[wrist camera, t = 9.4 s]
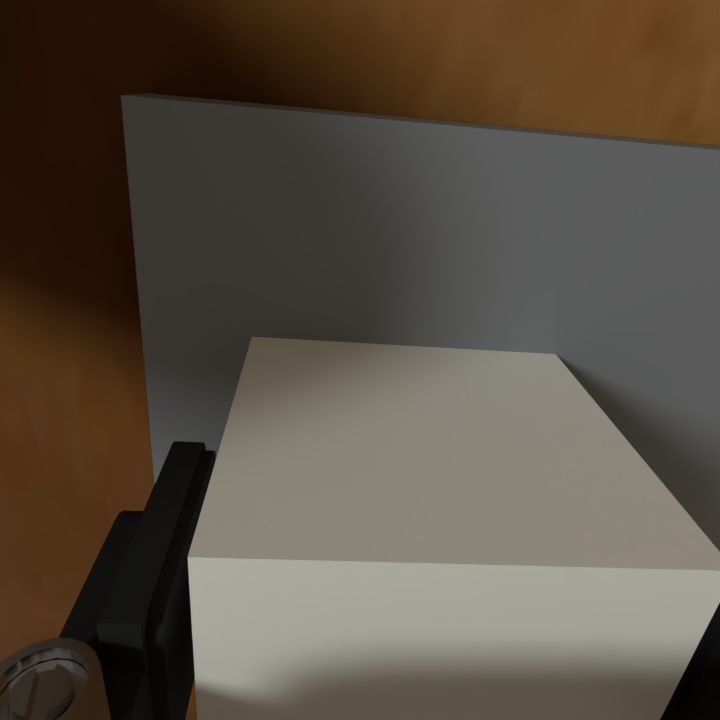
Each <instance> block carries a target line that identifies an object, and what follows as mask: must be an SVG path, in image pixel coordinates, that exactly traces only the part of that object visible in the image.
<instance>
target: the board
mask: <svg viewBox="0 0 720 720" xmlns="http://www.w3.org/2000/svg"><path fill="white" fill-rule="evenodd" d="M121 105H122V116H123V128H124V139H125V150H126V162H127V173H128V185H129V196H130V207H131V219H132V230H133V241H134V253H135V264H136V276H137V287H138V298H139V310H140V321H141V333H142V344H143V355H144V367H145V378H146V389H147V401H148V412H149V424H150V435H151V446H152V458H153V469H154V481H155V483H156V481H157V478H158V476H159V474H160V471H161V469H162V466H163V464H164V462H165V459H166V457H167V455H168V452H169V450H170V448H171V445H172V443H173V442H174V441H184V442H204V443H205V446H206V450H215V453H216V458H217V454H218V451H219V448H220V444H221V441H222V437H223V434H224V430H225V427H226V423H227V420H228V417H229V413H230V410H231V406H232V403H233V399H234V396H235V393H236V389H237V386H238V382H239V379H240V375H241V372H242V369H243V365H244V362H245V358H246V355H247V351H248V348H249V344H250V341H251V338H252V337H267V338H284V339H301V340H319V341H336V342H353V343H370V344H388V345H405V346H422V347H440V348H457V349H474V350H492V351H509V352H526V353H543V354H556V355H557V356H558V357H559V359H560V360H561V361H562V362H563V364H564V365H565V366H566V367H567V368H568V370H569V371H570V372H571V373H572V374H573V376H574V377H575V378H576V379H577V380H578V382H579V383H580V384H581V385H582V386H583V388H584V389H585V390H586V391H587V392H588V394H589V395H590V396H591V397H592V398H593V400H594V401H595V402H596V403H597V405H598V406H599V407H600V408H601V409H602V411H603V412H604V413H605V414H606V415H607V417H608V418H609V419H610V420H611V421H612V423H613V424H614V425H615V426H616V427H617V429H618V430H619V431H620V432H621V433H622V435H623V436H624V437H625V438H626V439H627V441H628V442H629V443H630V444H631V445H632V447H633V448H634V449H635V450H636V452H637V453H638V454H639V455H640V456H641V458H642V459H643V460H644V461H645V462H646V464H647V465H648V466H649V467H650V468H651V470H652V471H653V472H654V473H655V474H656V476H657V477H658V478H659V479H660V480H661V482H662V483H663V484H664V485H665V486H666V488H667V489H668V490H669V491H670V493H671V494H672V495H673V496H674V497H675V499H676V500H677V501H678V502H679V503H680V505H681V506H682V507H683V508H684V509H685V511H686V512H687V513H688V514H689V515H690V517H691V518H692V519H693V520H694V521H695V523H696V524H697V525H698V526H699V527H700V529H701V530H702V531H703V532H704V533H705V535H706V536H707V537H708V538H709V540H710V541H711V542H712V543H713V544H714V546H715V547H716V548H717V549H718V550H719V552H720V146H717V145H706V144H695V143H684V142H673V141H662V140H651V139H641V138H630V137H619V136H608V135H597V134H586V133H575V132H564V131H554V130H543V129H532V128H521V127H510V126H499V125H488V124H477V123H467V122H456V121H445V120H434V119H423V118H412V117H401V116H391V115H380V114H369V113H358V112H347V111H336V110H325V109H314V108H304V107H293V106H282V105H271V104H260V103H249V102H238V101H227V100H217V99H206V98H195V97H184V96H173V95H162V94H151V93H143V94H131V95H121ZM194 678H195V677H194Z"/></svg>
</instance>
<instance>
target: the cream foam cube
mask: <svg viewBox="0 0 720 720" xmlns="http://www.w3.org/2000/svg"><path fill="white" fill-rule="evenodd" d="M188 573H189V589H190V606H191V622H192V639H193V655H194V672H195V688H196V705H197V720H660V719H661V717H662V715H663V713H664V711H665V709H666V707H667V705H668V703H669V701H670V699H671V697H672V695H673V693H674V691H675V689H676V687H677V685H678V683H679V681H680V679H681V677H682V675H683V674H684V672H685V670H686V668H687V666H688V664H689V662H690V660H691V658H692V656H693V654H694V652H695V650H696V648H697V646H698V644H699V642H700V640H701V638H702V636H703V634H704V632H705V630H706V628H707V626H708V624H709V622H710V620H711V619H712V617H713V615H714V613H715V611H716V609H717V607H718V605H719V603H720V552H719V550H718V549H717V548H716V547H715V546H714V544H713V543H712V542H711V541H710V540H709V538H708V537H707V536H706V535H705V533H704V532H703V531H702V530H701V529H700V527H699V526H698V525H697V524H696V523H695V521H694V520H693V519H692V518H691V517H690V515H689V514H688V513H687V512H686V511H685V509H684V508H683V507H682V506H681V505H680V503H679V502H678V501H677V500H676V499H675V497H674V496H673V495H672V494H671V493H670V491H669V490H668V489H667V488H666V486H665V485H664V484H663V483H662V482H661V480H660V479H659V478H658V477H657V476H656V474H655V473H654V472H653V471H652V470H651V468H650V467H649V466H648V465H647V464H646V462H645V461H644V460H643V459H642V458H641V456H640V455H639V454H638V453H637V452H636V450H635V449H634V448H633V447H632V445H631V444H630V443H629V442H628V441H627V439H626V438H625V437H624V436H623V435H622V433H621V432H620V431H619V430H618V429H617V427H616V426H615V425H614V424H613V423H612V421H611V420H610V419H609V418H608V417H607V415H606V414H605V413H604V412H603V411H602V409H601V408H600V407H599V406H598V405H597V403H596V402H595V401H594V400H593V398H592V397H591V396H590V395H589V394H588V392H587V391H586V390H585V389H584V388H583V386H582V385H581V384H580V383H579V382H578V380H577V379H576V378H575V377H574V376H573V374H572V373H571V372H570V371H569V370H568V368H567V367H566V366H565V365H564V364H563V362H562V361H561V360H560V359H559V357H558V356H557V355H556V354H543V353H526V352H509V351H492V350H474V349H457V348H440V347H422V346H405V345H388V344H370V343H353V342H336V341H319V340H301V339H284V338H267V337H252V338H251V341H250V344H249V348H248V351H247V355H246V358H245V362H244V365H243V369H242V372H241V375H240V379H239V382H238V386H237V389H236V393H235V396H234V399H233V403H232V406H231V410H230V413H229V417H228V420H227V423H226V427H225V430H224V434H223V437H222V441H221V444H220V448H219V451H218V454H217V458H216V461H215V465H214V468H213V472H212V475H211V478H210V482H209V485H208V489H207V492H206V496H205V499H204V502H203V506H202V509H201V513H200V516H199V520H198V523H197V526H196V530H195V533H194V537H193V540H192V544H191V547H190V551H189V554H188Z"/></svg>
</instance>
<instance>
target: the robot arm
mask: <svg viewBox="0 0 720 720" xmlns="http://www.w3.org/2000/svg"><path fill="white" fill-rule="evenodd" d="M215 461H216V453H215V450H206V446H205V443H204V442H184V441H174V442H173V443H172V445H171V448H170V450H169V452H168V455H167V457H166V459H165V462H164V464H163V466H162V469H161V471H160V474H159V476H158V478H157V481H156V483H155V485H154V488H153V490H152V492H151V495H150V497H149V499H148V502H147V504H146V507H145V509H144V511H122V512H120V513H119V514H118V516H117V518H116V519H115V521H114V523H113V525H112V527H111V530H110V532H109V534H108V536H107V538H106V540H105V542H104V544H103V546H102V548H101V550H100V552H99V555H98V557H97V559H96V561H95V563H94V565H93V567H92V569H91V571H90V573H89V575H88V577H87V580H86V582H85V584H84V586H83V588H82V590H81V592H80V594H79V596H78V598H77V600H76V602H75V605H74V607H73V609H72V611H71V613H70V615H69V617H68V619H67V621H66V623H65V625H64V627H63V630H62V632H61V634H60V636H59V638H52V639H48V640H44V641H39V642H36V643H34V644H31V645H29V646H27V647H25V648H23V649H21V650H18V651H17V652H15V653H14V654H13V655H11V656H10V657H9V658H7V659H6V660H4V661H3V662H2V663H0V720H185V717H186V713H187V708H188V704H189V699H190V695H191V690H192V686H193V681H194V677H195V672H194V655H193V639H192V622H191V606H190V589H189V573H188V554H189V551H190V547H191V544H192V540H193V537H194V533H195V530H196V526H197V523H198V520H199V516H200V513H201V509H202V506H203V502H204V499H205V496H206V492H207V489H208V485H209V482H210V478H211V475H212V472H213V468H214V465H215ZM660 720H720V603H719V605H718V607H717V609H716V611H715V613H714V615H713V617H712V619H711V620H710V622H709V624H708V626H707V628H706V630H705V632H704V634H703V636H702V638H701V640H700V642H699V644H698V646H697V648H696V650H695V652H694V654H693V656H692V658H691V660H690V662H689V664H688V666H687V668H686V670H685V672H684V674H683V675H682V677H681V679H680V681H679V683H678V685H677V687H676V689H675V691H674V693H673V695H672V697H671V699H670V701H669V703H668V705H667V707H666V709H665V711H664V713H663V715H662V717H661V719H660Z"/></svg>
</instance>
